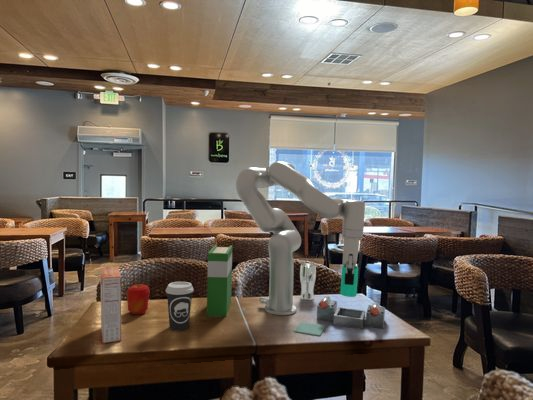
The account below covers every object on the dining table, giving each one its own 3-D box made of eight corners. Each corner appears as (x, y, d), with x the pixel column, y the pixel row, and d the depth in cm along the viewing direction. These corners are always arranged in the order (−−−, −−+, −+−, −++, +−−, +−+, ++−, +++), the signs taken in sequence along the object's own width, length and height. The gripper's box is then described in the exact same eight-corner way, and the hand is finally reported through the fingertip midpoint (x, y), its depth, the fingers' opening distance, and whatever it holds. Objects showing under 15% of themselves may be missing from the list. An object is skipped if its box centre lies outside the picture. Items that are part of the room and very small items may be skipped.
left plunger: (319, 308, 141) (319, 300, 141) (323, 302, 148) (323, 294, 148) (327, 309, 140) (327, 301, 140) (330, 303, 147) (331, 295, 147)
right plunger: (369, 315, 135) (370, 307, 135) (371, 309, 142) (371, 301, 142) (378, 317, 134) (379, 308, 134) (380, 310, 141) (380, 302, 141)
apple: (135, 307, 152) (135, 278, 151) (154, 310, 150) (154, 280, 149) (121, 315, 144) (121, 284, 143) (141, 317, 142) (141, 286, 141)
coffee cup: (198, 324, 137) (198, 282, 136) (184, 334, 128) (184, 289, 127) (174, 320, 140) (175, 279, 139) (159, 330, 131) (159, 286, 130)
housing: (314, 322, 142) (315, 307, 141) (321, 311, 154) (322, 297, 153) (382, 332, 134) (383, 316, 133) (384, 320, 145) (385, 305, 145)
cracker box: (100, 328, 131) (100, 267, 130) (119, 325, 134) (119, 266, 133) (100, 344, 118) (101, 277, 117) (121, 341, 121) (122, 275, 120)
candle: (342, 296, 139) (344, 263, 138) (338, 291, 145) (340, 260, 144) (358, 297, 140) (361, 264, 139) (353, 292, 145) (356, 260, 145)
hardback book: (213, 301, 163) (214, 245, 161) (231, 301, 163) (232, 245, 161) (206, 316, 145) (207, 253, 144) (226, 316, 145) (227, 253, 144)
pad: (294, 331, 132) (294, 330, 132) (300, 322, 141) (300, 321, 141) (319, 336, 129) (320, 335, 129) (325, 326, 138) (325, 325, 138)
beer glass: (314, 301, 166) (315, 266, 166) (298, 299, 168) (299, 265, 167) (315, 296, 173) (316, 263, 172) (300, 295, 175) (301, 262, 174)
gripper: (342, 229, 150) (339, 275, 151) (341, 236, 133) (337, 287, 135) (362, 231, 148) (359, 277, 149) (363, 237, 132) (359, 290, 133)
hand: (349, 281), depth 142 cm, fingers closed on candle, 4 cm apart
